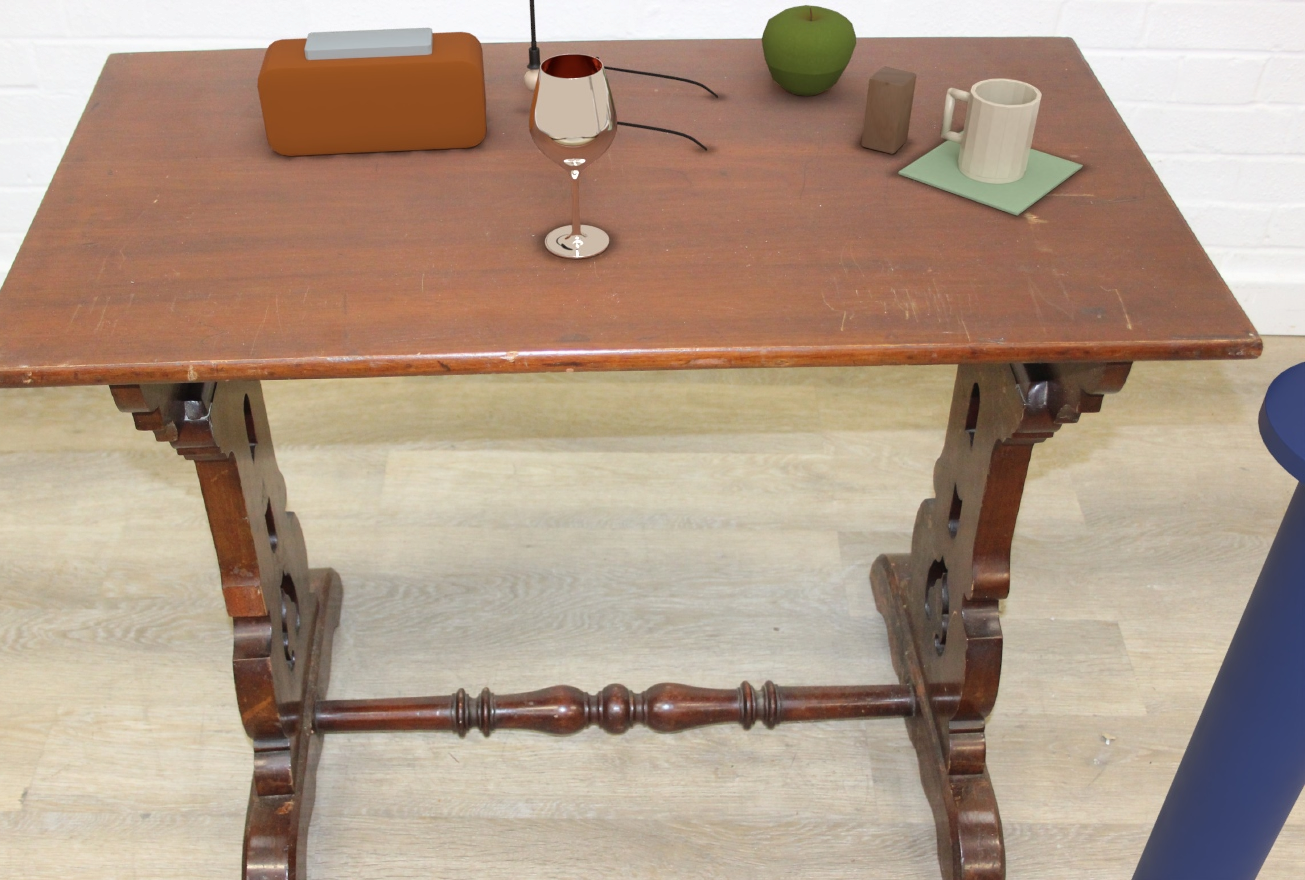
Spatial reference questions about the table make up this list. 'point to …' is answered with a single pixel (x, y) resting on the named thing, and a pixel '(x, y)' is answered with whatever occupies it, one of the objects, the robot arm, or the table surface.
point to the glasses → (667, 78)
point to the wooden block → (888, 109)
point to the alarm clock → (373, 92)
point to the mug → (994, 129)
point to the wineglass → (573, 136)
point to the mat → (1007, 197)
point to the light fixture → (532, 54)
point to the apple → (808, 48)
